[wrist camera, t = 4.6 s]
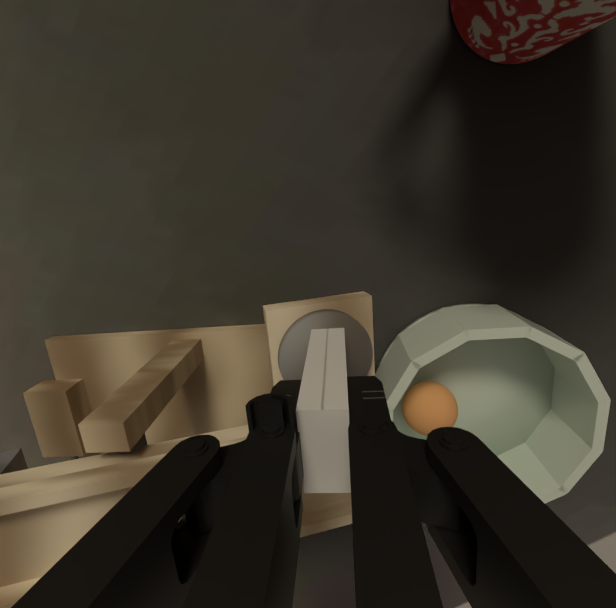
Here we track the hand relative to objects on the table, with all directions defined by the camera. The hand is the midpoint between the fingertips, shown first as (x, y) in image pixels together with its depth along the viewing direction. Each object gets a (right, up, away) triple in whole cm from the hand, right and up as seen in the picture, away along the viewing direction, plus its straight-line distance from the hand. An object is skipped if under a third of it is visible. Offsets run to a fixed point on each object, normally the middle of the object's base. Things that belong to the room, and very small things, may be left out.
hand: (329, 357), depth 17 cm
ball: (+7, -4, +7) cm, 11 cm away
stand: (-11, -5, +11) cm, 16 cm away
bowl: (+10, -3, +9) cm, 14 cm away
